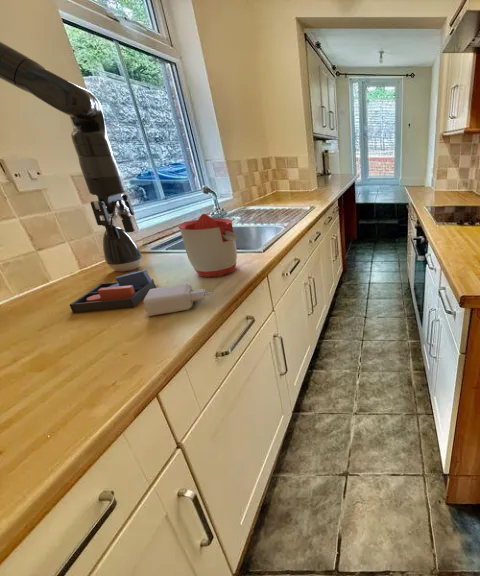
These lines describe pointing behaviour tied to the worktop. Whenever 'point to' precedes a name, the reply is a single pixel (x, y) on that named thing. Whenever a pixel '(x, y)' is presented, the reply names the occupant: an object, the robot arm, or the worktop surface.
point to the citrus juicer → (210, 245)
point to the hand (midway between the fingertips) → (123, 235)
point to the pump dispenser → (121, 252)
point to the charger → (172, 299)
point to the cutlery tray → (85, 306)
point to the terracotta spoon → (113, 293)
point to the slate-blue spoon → (133, 279)
